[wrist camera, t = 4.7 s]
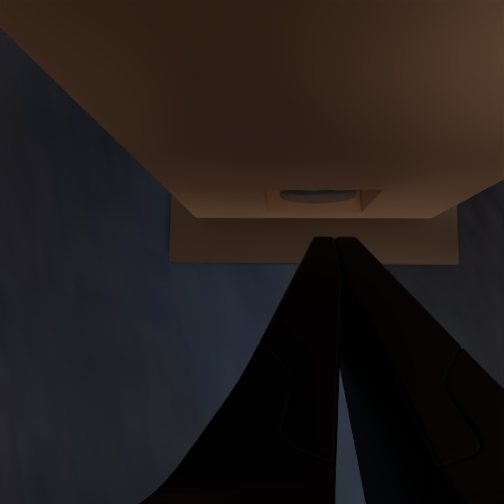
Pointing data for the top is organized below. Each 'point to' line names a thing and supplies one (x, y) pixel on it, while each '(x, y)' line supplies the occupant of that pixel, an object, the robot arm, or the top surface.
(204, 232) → the pipe stand
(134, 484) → the top surface
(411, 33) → the rectangular block
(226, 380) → the top surface
